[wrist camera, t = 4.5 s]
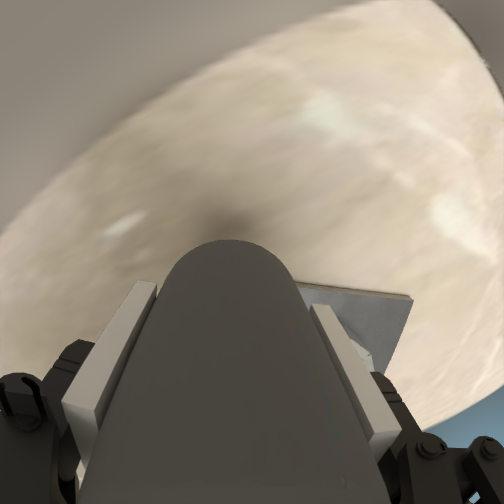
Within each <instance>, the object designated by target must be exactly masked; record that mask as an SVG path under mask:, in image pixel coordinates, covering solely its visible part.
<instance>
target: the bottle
mask: <svg viewBox="0 0 504 504" xmlns="http://www.w3.org/2000/svg"><path fill="white" fill-rule="evenodd" d="M76 504H391V501H390V498H389V495H388V491H387V488H386V485H385V483H384V480H383V478H382V475H381V473H380V470H379V468H378V466H377V463H376V461H375V458H374V456H373V453H372V451H371V448H370V446H369V444H368V441H367V439H366V436H365V434H364V432H363V429H362V427H361V425H360V422H359V420H358V418H357V416H356V413H355V411H354V409H353V407H352V404H351V402H350V400H349V398H348V395H347V393H346V391H345V389H344V386H343V384H342V382H341V380H340V378H339V375H338V373H337V371H336V369H335V367H334V364H333V362H332V360H331V358H330V356H329V354H328V351H327V349H326V347H325V345H324V343H323V341H322V338H321V336H320V334H319V332H318V330H317V328H316V326H315V323H314V321H313V319H312V317H311V315H310V313H309V311H308V309H307V306H306V304H305V302H304V300H303V298H302V296H301V294H300V292H299V290H298V288H297V286H296V284H295V282H294V280H293V278H292V276H291V275H290V273H289V271H288V270H287V268H286V267H285V266H284V265H283V263H282V262H281V261H280V260H279V259H278V258H277V257H276V256H275V255H273V254H272V253H270V252H269V251H267V250H266V249H264V248H262V247H261V246H258V245H256V244H253V243H250V242H245V241H239V240H217V241H213V242H209V243H206V244H203V245H201V246H199V247H197V248H195V249H193V250H191V251H190V252H188V253H187V254H185V255H184V256H183V257H182V258H181V259H180V260H179V261H178V262H177V263H176V264H175V266H174V267H173V269H172V270H171V272H170V273H169V275H168V276H167V278H166V280H165V282H164V284H163V286H162V288H161V290H160V292H159V294H158V296H157V298H156V300H155V302H154V304H153V306H152V308H151V311H150V313H149V315H148V317H147V319H146V321H145V324H144V326H143V328H142V330H141V332H140V335H139V337H138V339H137V341H136V344H135V346H134V348H133V350H132V353H131V355H130V357H129V360H128V362H127V364H126V367H125V369H124V371H123V374H122V376H121V378H120V381H119V383H118V386H117V388H116V390H115V393H114V395H113V398H112V400H111V403H110V405H109V408H108V410H107V413H106V415H105V418H104V420H103V423H102V426H101V428H100V431H99V434H98V436H97V439H96V442H95V445H94V448H93V451H92V454H91V456H90V459H89V462H88V465H87V468H86V471H85V474H84V478H83V481H82V484H81V487H80V490H79V493H78V498H77V503H76Z"/></svg>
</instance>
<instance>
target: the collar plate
mask: <svg viewBox="0 0 504 504" xmlns="http://www.w3.org/2000/svg"><path fill="white" fill-rule="evenodd" d="M295 284H296V286H297V288H298V290H299V292H300V294H301V296H302V298H303V300H304V302H305V304H306V306H307V309H308V311H309V310H310V306H311V303H312V304H322V305H330V307H331V309H332V310H333V312H334V314H335V315H336V317H337V318H338V320H339V322H340V323H341V325H342V327H343V328H344V330H345V332H346V333H347V335H348V337H349V338H350V340H351V342H352V343H353V345H354V347H355V348H356V350H357V352H358V353H359V355H360V357H361V358H362V360H363V362H364V364H365V365H366V367H367V369H368V370H369V372H380V373H381V374H383V375H384V373H385V371H386V368H387V366H388V364H389V362H390V360H391V357H392V355H393V353H394V350H395V348H396V346H397V343H398V341H399V338H400V336H401V333H402V331H403V328H404V326H405V323H406V321H407V318H408V315H409V313H410V310H411V307H412V305H413V302H414V300H413V299H412V298H411V297H410V296H404V295H396V294H387V293H378V292H370V291H361V290H353V289H345V288H337V287H329V286H321V285H313V284H305V283H298V282H295Z"/></svg>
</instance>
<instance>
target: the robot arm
mask: <svg viewBox="0 0 504 504" xmlns="http://www.w3.org/2000/svg"><path fill="white" fill-rule="evenodd" d="M156 292H157V283H152V282H145V281H139V280H137V282H136V283H135V285H134V286H133V288H132V289H131V290H130V292H129V293H128V295H127V296H126V298H125V299H124V301H123V302H122V304H121V305H120V307H119V308H118V310H117V311H116V313H115V314H114V316H113V317H112V319H111V320H110V322H109V323H108V325H107V326H106V328H105V330H104V331H103V333H102V334H101V336H100V337H99V339H98V340H97V342H96V343H93V342H88V341H84V340H80V339H78V340H77V341H75V342H73V343H72V344H70V345H68V346H67V347H66V348H65V349H64V351H63V352H62V353H61V355H60V356H59V359H57V360H56V362H55V363H54V365H53V368H51V369H50V370H49V372H48V373H47V375H46V376H45V377H44V379H43V380H42V382H41V380H39V379H38V378H37V377H35V376H34V375H31V374H27V373H11V374H8V375H5V376H3V377H2V378H0V410H1V411H0V504H76V503H77V498H78V493H79V479H78V475H77V472H76V470H77V468H78V465H79V462H80V460H81V462H82V464H83V467H84V469H85V470H86V468H87V465H88V462H89V459H90V456H91V454H92V451H93V448H94V445H95V442H96V439H97V436H98V434H99V431H100V428H101V426H102V423H103V420H104V418H105V415H106V413H107V410H108V408H109V405H110V403H111V400H112V398H113V395H114V393H115V390H116V388H117V386H118V383H119V381H120V378H121V376H122V374H123V371H124V369H125V367H126V364H127V362H128V360H129V357H130V355H131V353H132V350H133V348H134V346H135V344H136V341H137V339H138V337H139V335H140V332H141V330H142V328H143V326H144V324H145V321H146V319H147V317H148V315H149V313H150V311H151V308H152V306H153V304H154V302H155V300H156ZM309 313H310V315H311V317H312V319H313V321H314V323H315V326H316V328H317V330H318V332H319V334H320V336H321V338H322V341H323V343H324V345H325V347H326V349H327V351H328V354H329V356H330V358H331V360H332V362H333V364H334V367H335V369H336V371H337V373H338V375H339V378H340V380H341V382H342V384H343V386H344V389H345V391H346V393H347V395H348V398H349V400H350V402H351V404H352V407H353V409H354V411H355V413H356V416H357V418H358V420H359V422H360V425H361V427H362V429H363V432H364V434H365V436H366V439H367V441H368V444H369V446H370V448H371V451H372V453H373V456H374V458H375V461H376V463H377V466H378V468H379V470H380V473H381V475H382V478H383V480H384V483H385V485H386V488H387V491H388V495H389V498H390V501H391V504H473V503H471V502H470V501H469V499H470V498H471V497H472V496H473V495H474V494H475V493H476V492H478V494H479V496H480V499H479V500H478V501H477V502H475V503H474V504H504V448H503V446H502V445H501V444H500V443H499V442H498V441H496V440H495V439H493V438H491V437H487V436H479V437H477V438H476V439H474V441H473V442H472V443H471V444H470V446H469V447H468V448H448V447H447V445H446V443H445V442H444V441H443V440H442V439H441V438H439V437H437V436H435V435H434V434H430V433H426V432H422V431H421V429H420V428H419V426H418V425H417V423H416V421H415V420H414V418H413V416H412V415H411V413H410V411H409V410H408V408H407V407H406V405H405V403H404V402H402V399H401V397H400V395H399V394H397V391H396V389H395V387H394V386H393V384H392V383H391V381H390V380H389V379H387V378H386V377H385V376H384V375H383V374H381V373H380V372H369V370H368V369H367V367H366V365H365V364H364V362H363V360H362V358H361V357H360V355H359V353H358V352H357V350H356V348H355V347H354V345H353V343H352V342H351V340H350V338H349V337H348V335H347V333H346V332H345V330H344V328H343V327H342V325H341V323H340V322H339V320H338V318H337V317H336V315H335V314H334V312H333V310H332V309H331V307H330V305H322V304H312V303H311V306H310V310H309Z"/></svg>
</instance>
